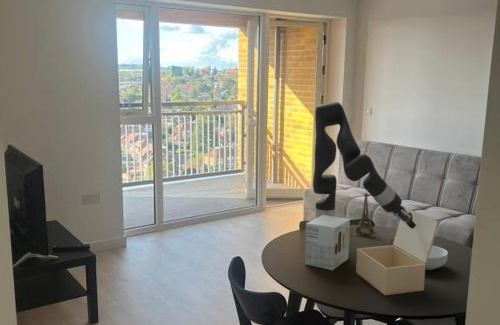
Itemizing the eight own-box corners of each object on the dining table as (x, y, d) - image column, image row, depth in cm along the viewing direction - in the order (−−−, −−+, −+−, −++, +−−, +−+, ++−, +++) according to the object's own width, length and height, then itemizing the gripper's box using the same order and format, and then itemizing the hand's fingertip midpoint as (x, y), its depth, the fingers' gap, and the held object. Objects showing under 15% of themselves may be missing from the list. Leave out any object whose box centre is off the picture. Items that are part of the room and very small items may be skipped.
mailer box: (384, 295, 171) (385, 268, 170) (356, 272, 192) (357, 248, 191) (423, 290, 175) (425, 264, 174) (391, 268, 196) (392, 245, 195)
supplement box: (333, 271, 194) (335, 228, 191) (304, 264, 201) (305, 223, 198) (349, 258, 208) (350, 218, 205) (321, 252, 215) (322, 214, 212)
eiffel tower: (375, 237, 237) (377, 188, 234) (353, 236, 240) (355, 187, 236) (375, 231, 248) (377, 184, 244) (354, 230, 250) (356, 183, 246)
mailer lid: (437, 221, 172) (439, 222, 172) (403, 207, 193) (404, 207, 193) (425, 263, 173) (426, 263, 174) (392, 244, 195) (393, 244, 195)
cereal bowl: (413, 256, 210) (414, 241, 209) (452, 265, 200) (453, 249, 199) (397, 267, 197) (398, 251, 196) (438, 277, 187) (440, 260, 186)
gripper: (370, 200, 183) (397, 229, 188) (389, 208, 171) (417, 239, 176) (383, 186, 184) (409, 215, 189) (402, 193, 171) (430, 224, 176)
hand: (413, 226), depth 182 cm, fingers closed
